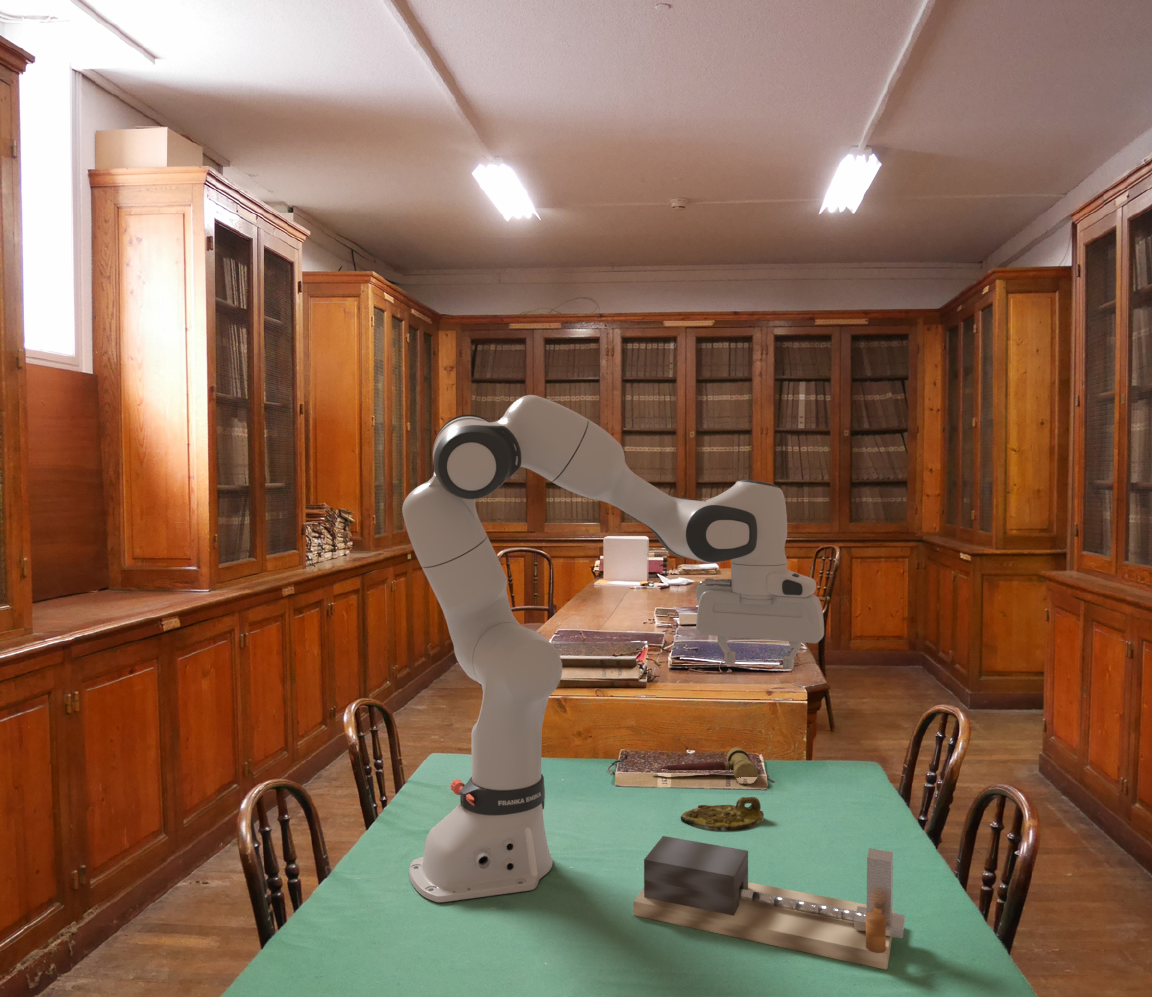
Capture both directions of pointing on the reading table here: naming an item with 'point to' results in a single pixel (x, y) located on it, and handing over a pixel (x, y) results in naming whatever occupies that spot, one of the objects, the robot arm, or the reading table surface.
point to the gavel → (724, 764)
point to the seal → (726, 816)
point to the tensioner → (749, 905)
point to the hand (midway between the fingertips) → (758, 665)
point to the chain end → (876, 898)
